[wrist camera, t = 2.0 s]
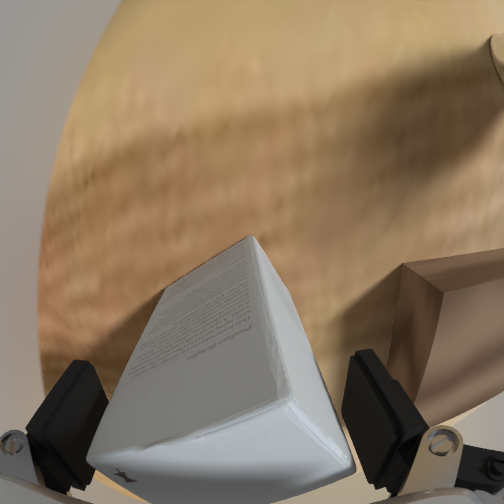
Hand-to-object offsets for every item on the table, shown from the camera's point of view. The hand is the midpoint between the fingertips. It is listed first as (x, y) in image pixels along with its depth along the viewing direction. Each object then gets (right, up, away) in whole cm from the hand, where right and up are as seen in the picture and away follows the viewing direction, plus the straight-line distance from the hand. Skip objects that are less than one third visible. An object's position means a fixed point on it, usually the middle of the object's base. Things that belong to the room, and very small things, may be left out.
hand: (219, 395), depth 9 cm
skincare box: (0, +3, +8) cm, 8 cm away
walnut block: (+17, -1, +10) cm, 20 cm away
